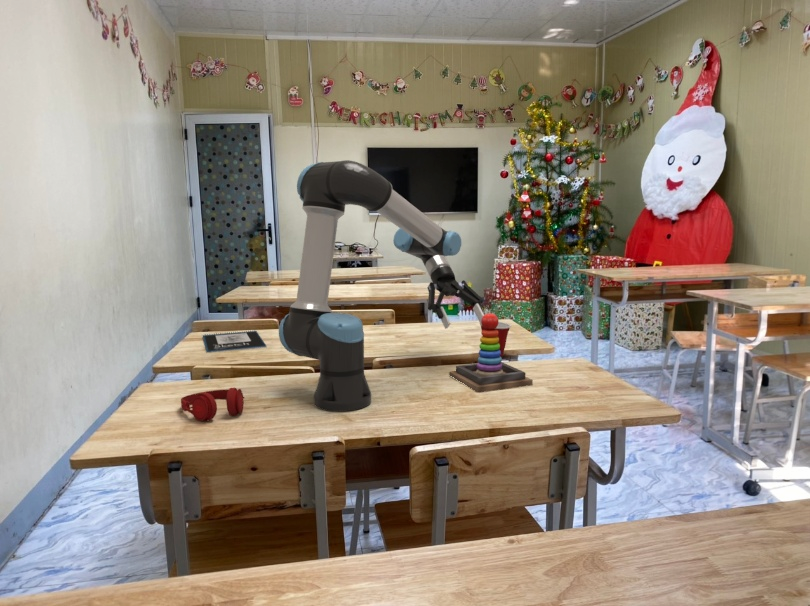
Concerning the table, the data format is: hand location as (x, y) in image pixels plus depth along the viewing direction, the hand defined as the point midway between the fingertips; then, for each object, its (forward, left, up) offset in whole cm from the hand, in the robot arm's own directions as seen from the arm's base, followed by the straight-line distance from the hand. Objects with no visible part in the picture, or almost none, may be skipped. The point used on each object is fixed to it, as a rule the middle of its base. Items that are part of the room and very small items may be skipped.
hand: (466, 324), depth 184 cm
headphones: (-77, -5, -16) cm, 78 cm away
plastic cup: (+18, +12, -15) cm, 27 cm away
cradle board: (+2, -12, -15) cm, 19 cm away
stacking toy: (+2, -11, -14) cm, 18 cm away
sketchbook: (-63, +76, -16) cm, 100 cm away
